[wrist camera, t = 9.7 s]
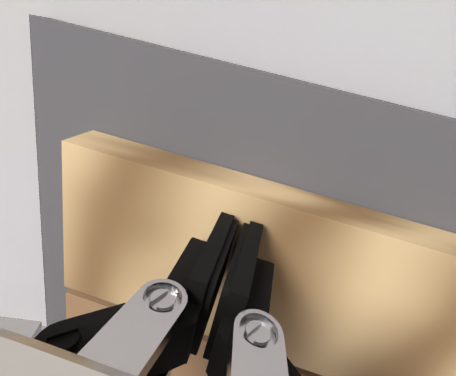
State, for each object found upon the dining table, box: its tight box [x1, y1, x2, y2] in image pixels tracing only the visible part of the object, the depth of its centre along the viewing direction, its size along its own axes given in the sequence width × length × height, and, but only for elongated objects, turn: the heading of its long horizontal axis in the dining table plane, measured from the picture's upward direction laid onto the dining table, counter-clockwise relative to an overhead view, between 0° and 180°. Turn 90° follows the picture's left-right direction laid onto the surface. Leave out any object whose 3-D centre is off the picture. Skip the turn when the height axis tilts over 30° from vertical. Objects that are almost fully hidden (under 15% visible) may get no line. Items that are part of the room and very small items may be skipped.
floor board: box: [29, 14, 456, 376], centre depth 15 cm, size 26×22×3 cm
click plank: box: [62, 130, 456, 376], centre depth 13 cm, size 20×8×2 cm, turn 77°
